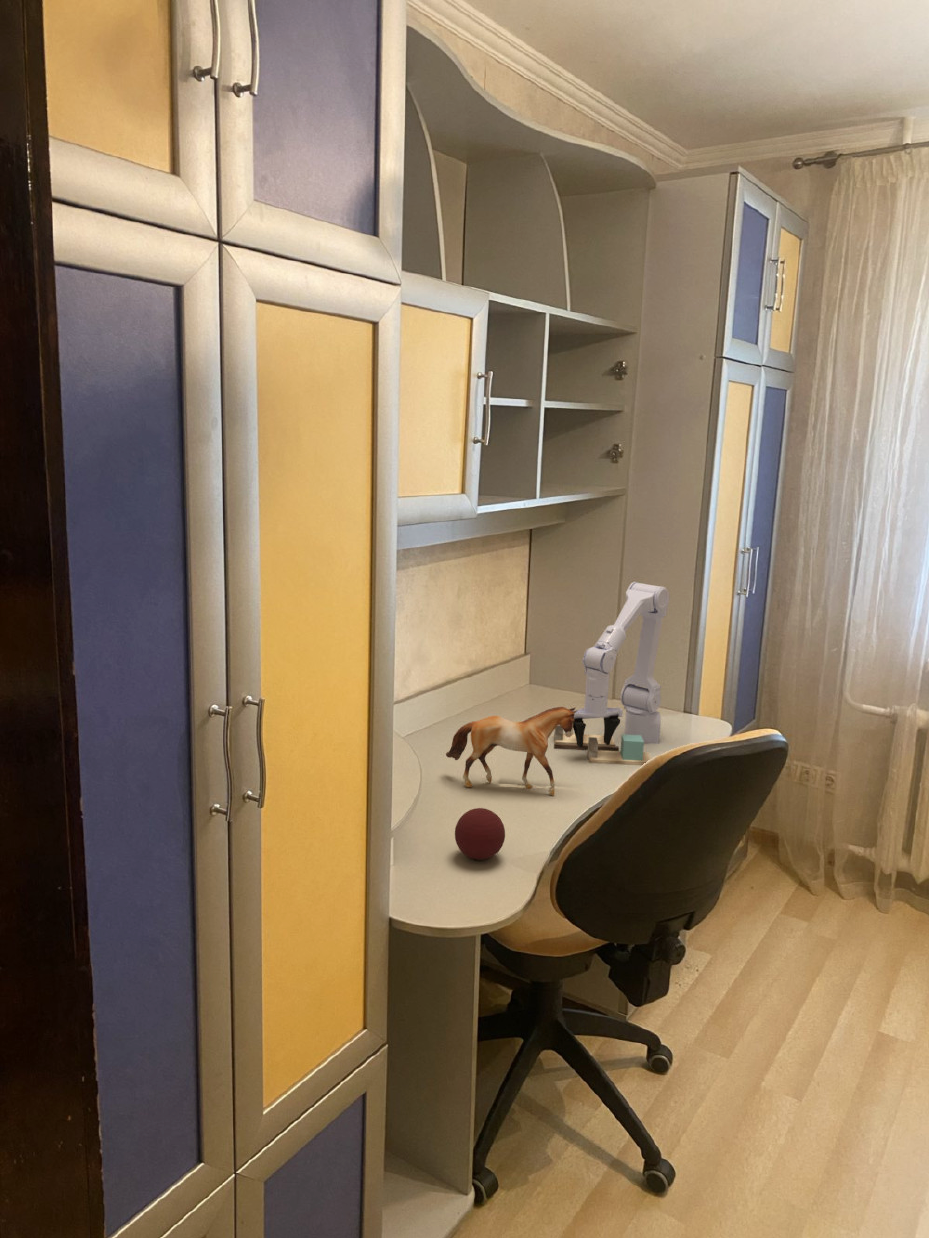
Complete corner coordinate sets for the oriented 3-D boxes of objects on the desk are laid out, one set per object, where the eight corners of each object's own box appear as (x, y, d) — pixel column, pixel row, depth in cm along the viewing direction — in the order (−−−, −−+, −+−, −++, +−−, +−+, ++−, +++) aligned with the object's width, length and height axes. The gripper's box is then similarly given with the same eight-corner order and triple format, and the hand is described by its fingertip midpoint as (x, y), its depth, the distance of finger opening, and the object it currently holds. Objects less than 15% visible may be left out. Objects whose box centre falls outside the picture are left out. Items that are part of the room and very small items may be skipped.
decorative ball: (497, 872, 177) (499, 824, 175) (447, 864, 180) (449, 816, 177) (509, 850, 186) (511, 804, 184) (461, 842, 189) (463, 797, 187)
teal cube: (639, 753, 239) (641, 735, 238) (642, 760, 234) (644, 741, 233) (620, 752, 239) (621, 734, 238) (622, 759, 234) (624, 740, 233)
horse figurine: (573, 788, 219) (578, 706, 215) (570, 801, 212) (575, 716, 207) (446, 774, 225) (448, 693, 221) (438, 786, 218) (441, 702, 213)
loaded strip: (648, 755, 240) (649, 738, 239) (652, 765, 233) (654, 747, 232) (587, 752, 241) (588, 735, 240) (589, 762, 234) (590, 744, 233)
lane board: (613, 740, 253) (613, 733, 253) (623, 770, 232) (624, 762, 231) (551, 737, 254) (551, 730, 253) (556, 767, 232) (556, 759, 232)
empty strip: (612, 738, 252) (613, 721, 251) (615, 747, 245) (616, 730, 244) (553, 735, 253) (554, 719, 252) (555, 744, 246) (556, 727, 245)
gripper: (615, 687, 239) (611, 737, 242) (564, 691, 235) (561, 741, 238) (627, 695, 233) (624, 746, 236) (575, 699, 229) (572, 751, 231)
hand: (593, 744), depth 236 cm, fingers open, 7 cm apart
